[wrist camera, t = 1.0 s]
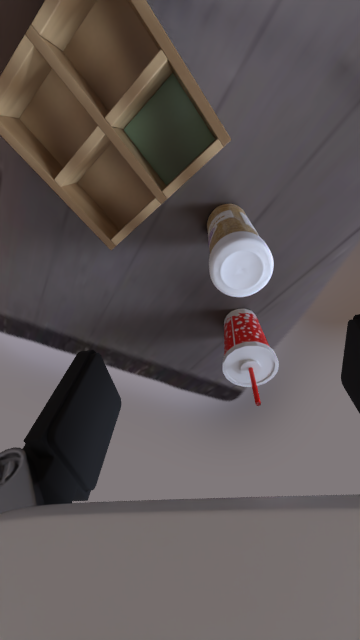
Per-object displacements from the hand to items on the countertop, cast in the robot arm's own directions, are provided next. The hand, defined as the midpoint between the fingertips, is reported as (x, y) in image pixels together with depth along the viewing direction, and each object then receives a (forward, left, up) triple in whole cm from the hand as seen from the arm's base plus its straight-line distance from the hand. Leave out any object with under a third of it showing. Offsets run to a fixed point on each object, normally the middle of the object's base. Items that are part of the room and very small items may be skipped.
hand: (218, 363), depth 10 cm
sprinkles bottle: (-1, +2, -24) cm, 24 cm away
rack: (+2, -12, -24) cm, 27 cm away
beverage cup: (+5, +14, -24) cm, 28 cm away
